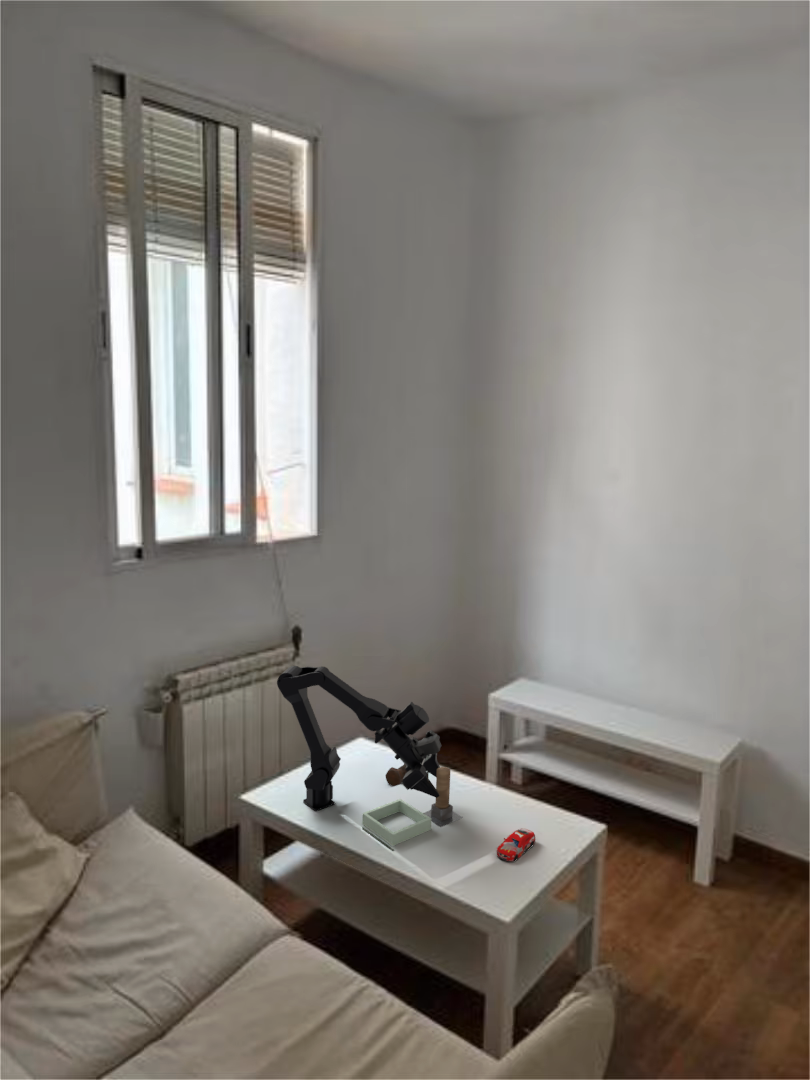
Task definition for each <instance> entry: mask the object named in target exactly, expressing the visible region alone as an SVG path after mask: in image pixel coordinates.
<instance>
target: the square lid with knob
mask: <svg viewBox="0 0 810 1080" xmlns="http://www.w3.org/2000/svg"><path fill="white" fill-rule="evenodd" d="M422 813H423V814H425V815H427V816H428V817H430V818H431V823H433V824H435V825H437V826H438V827H439V828H442V827H445V826H447V825H449V824H451V823H453V822H456V821H459V820H461V819H463V818H464V817H463V816H462V815H460V814H458V813H457V812H455V811H453V815H452V817H450V818H448V819H446V820H443V821H440V820H438V819H437V818H435V817H434V816H432V815H431V809H430V810H428V811H425V812H422Z"/></svg>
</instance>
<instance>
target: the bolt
mask: <svg viewBox="0 0 810 1080" xmlns="http://www.w3.org/2000/svg"><path fill="white" fill-rule="evenodd" d="M405 768H406V765H405V764H404V763H403V764H402V765H401V766H399V767H398V768H396V767H393V766H392V767H390V768H389V769H388V770H387V772H386V773H385V780H386V782H387V784H388V785H389V786H390V787H397V786H399V785H403V778H404V776H405V774H406V773H407V772H408V771H407V770H406V769H405ZM410 770H411V769H410ZM410 770H409V771H410Z"/></svg>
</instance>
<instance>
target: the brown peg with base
mask: <svg viewBox="0 0 810 1080" xmlns="http://www.w3.org/2000/svg"><path fill="white" fill-rule="evenodd" d="M435 779H436V782H435V784H436V785H435V788H436V790H437V791H438V793H439V794H440V796H439V797H438V798H436V797H435V803H432V804H431V805H430V806H431V809H430V810H431V815H432V816H434V817H435V818H437V819H438V820H440V821H443V820H446V819H448V818H450V817H452V815H453V812H454V810H453V809H454V806H453V805H452V804H450V792H451V791H450V789H451V788H450V787H451V769H450V768H449V767H446V766H440V768H438V769H437V776H436V777H435Z"/></svg>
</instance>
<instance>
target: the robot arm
mask: <svg viewBox="0 0 810 1080" xmlns="http://www.w3.org/2000/svg"><path fill="white" fill-rule="evenodd" d="M276 686H277V688H278V690H279V692H280V694H281V695H282V697H283V698H284V699H285V700H286V701H287V702H288V703H289V704H290V705H291V706H292V709H293V712H294V714H295V716H296V720H297V721H298V725H299V726H300V729H301V732H302V734H303V738H304V739H305V742H306V745H307V746H308V750H309V753H310V754H309V755H310V759H309V760H310V761H309V762H310V769H311V770H310V773H308V775H307V777H306V778H305V779H304V781H303V783H304V787H305V789H306V791H305V792H306V796H305V797H306V798H305V799H303V800H302V801H303V803H304V804H305V803H306V804H305V805H307V806H308V807H309V806H310V807H309V808H311V809H312V810H313V809H314V810H313V811H314V812H315V811H316V812H317V810H318V811H319V810H323V809H325V808H328V807H331V806H334V805H335V804H336V802H335V801H334V800H333V797H334V794H333V793H334V786H333V784H332V783H333V781H332V780H333V778H334V777H335V776H336V774H337V772H338V771H339V769H340V766H341V763H340V761H341V757H340V756H339V754H338V750H337V748H336V746H333V747H330V746H329V745H328V744H327V743H326V741H325V738H324V735H323V732H322V730H321V727H320V725H319V723H318V722H319V721H318V720H317V717H316V714H315V713H314V709H313V706H312V704H311V702H310V699H309V697H308V688H310V687H315V686H319V687H320V688H321V689H323V690H324V691H325V692H326V693H328V694H330V695H331V696H333V698H335V699H336V700H338V701H339V702H340V703H341V704H343V705H344V706H346V707H347V708H349V709H350V710H351V711H352V712H353V713H354V714H355V715H356V717H357V719H358V721H360V723H361V725H363V726H364V727H365V728H366V729H368V730H369V731H370V732H375V733H374V744H378V743H379V742H380V741H383V742H384V743H385V744H386V745H387V746H388V747H389V748H390V749H391V751H392V752H393V753H394V754H395V756H394V758H395V759H396V760H397V761H398V760H399V759H400V761H401V762H402V763H403V765H404V764H405V765H406V768H405V769H406V770H407V771H408V772H407V773H406V774H405V776H404V778H403V782H402V786H403V787H404V788H405V789H406V790H407V791H408V790H410V791H412V790H415V791H419V792H421V793H424V794H427V795H428V796H431V797H434V798H435V799H436V798H438V797H439V796H440V794H439V793H438V791H437V790H436V786H435V785H434V784H433V782H432V781H431V780H430V779H429V774H430V775H432V776H434V778H436V776H437V769H438V768H440V767H441V766H440V763H439V762H438V757H437V756H438V753H439V752H440V751H441V747H442V743H441V740H440V738H441V737H440V735H438V733H435V731H433V730H432V729H431V730H428V731H426V733H425V737H423V738H422V739H420V740H418V739H417V737H412V738H411V736H413V735H414V734H416V733H417V732H418V731H419V730H421V729H422V728H423V727H424V726H425V725H427V724H428V723H429V722H430V717H429V715H428V713H427V711H426V710H425V709H424V708H423V707H421V706H420V705H418V704H415V703H414V702H413V701H410V702H409V703H408V704H407V705H406V706H405V707H404V708H403V709H402V710H400V709H396V708H393V707H389V706H387V705H386V704H385V703H382V702H381V701H379V700H376V699H375V698H371V697H366V696H365V695H363V694H362V693H360V692H359V691H357V690H356V689H354V688H353V687H352V686H350V685H349V684H348V683H346V682H345V681H343V679H341V678H340V677H338V676H337V675H335V674H334V673H332V672H331V671H330V670H329V668H328V667H326V666H322V665H321V666H317V667H316V666H302V667H300V666H297V665H291V666H288V668H286V669H285V670H284V671H283V672H281V674H279V676H278V678H277V680H276ZM410 769H411V770H410ZM409 770H410V771H409Z"/></svg>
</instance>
